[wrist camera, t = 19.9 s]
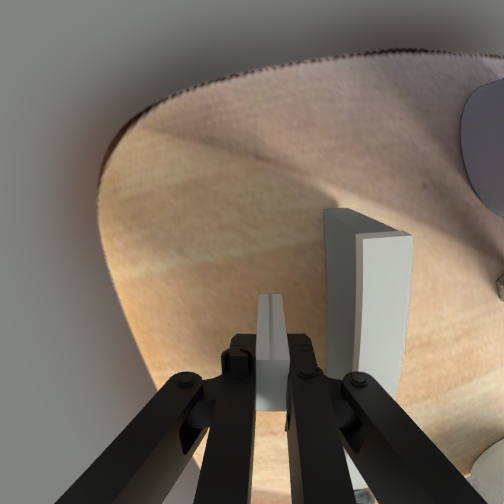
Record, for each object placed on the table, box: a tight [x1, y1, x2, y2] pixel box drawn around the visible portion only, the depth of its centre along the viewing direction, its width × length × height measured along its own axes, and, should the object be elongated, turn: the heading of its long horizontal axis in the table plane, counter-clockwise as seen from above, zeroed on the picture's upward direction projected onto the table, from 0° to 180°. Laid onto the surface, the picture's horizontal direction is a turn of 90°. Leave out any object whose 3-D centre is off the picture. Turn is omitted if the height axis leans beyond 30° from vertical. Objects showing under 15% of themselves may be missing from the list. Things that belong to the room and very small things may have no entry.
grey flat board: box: [323, 208, 413, 490], centre depth 15 cm, size 14×2×9 cm, turn 6°
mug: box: [465, 439, 504, 504], centre depth 17 cm, size 15×11×13 cm
